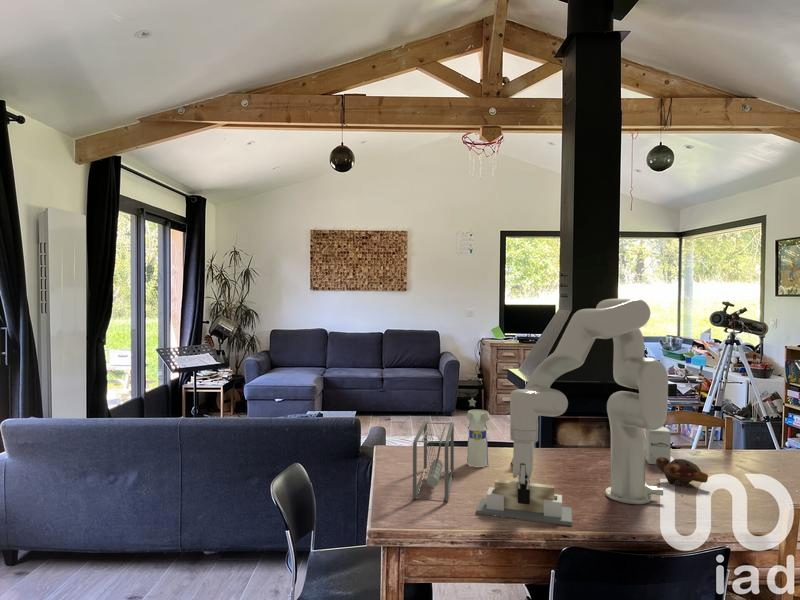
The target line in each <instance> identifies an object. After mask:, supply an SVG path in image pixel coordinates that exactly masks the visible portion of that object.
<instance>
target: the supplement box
mask: <svg viewBox="0 0 800 600" xmlns="http://www.w3.org/2000/svg"><path fill="white" fill-rule="evenodd" d="M659 457H665V458H668V460H669V462H671V461H672V460H671V431H670V430H669V429H668V427H666V426H665V427H664V426H662V427H661V428H659V429H657V430H648V429H645V461H646V462H647V464H649V465H657V464H656V460H657V458H659Z"/></svg>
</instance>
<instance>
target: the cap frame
mask: <svg viewBox="0 0 800 600" xmlns="http://www.w3.org/2000/svg"><path fill="white" fill-rule="evenodd" d="M476 513H477V514H476V515H481V514H486V515H485V516H489V515H496V516H495V517H497V516H503V517H502V518H505V517H510V518H509V519H513V518H516V519H515V520H521V521H522V520H523V521H528V522H529V521H530V522H538V523H547V524H555V525H563V526H570V527H572V526H573V514H572V513H573V512H572V507H567V506H563V495H562V494H556V493H554V500H548V499H544V513H539V512H531V511H523V510H514V509H506V508H504V495H503V494H495V487H491V486H489V488H488V490H487V492H486V497H481V499H480V501H479V504H478V506H477V508H476Z"/></svg>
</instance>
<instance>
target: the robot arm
mask: <svg viewBox="0 0 800 600" xmlns="http://www.w3.org/2000/svg"><path fill="white" fill-rule="evenodd" d="M650 317H651V309H650V306H649V305H648V304H647V302H646V301H644V300H643V299H642V298H641V299H640V298H634V297H633V298H608V299H603V300H601V301H599V302H598V304H596V307H595V308H583V309H578V310H577V311H576V312H575V313H574V314H573V315H572V317H571V318H570V320H569V322H568V324H567V326H566V328H565V331H564V333H563V334H562V337H561V338H560V340H559V342H558V344H557V346H556V348H555V350H554V351H553V353H551V354H549V355H548V356H547V357H546V358H545V359H544V360H543V361H541V363H539V365H538V366H537V367H536V368H535V369H534V370H533V371H532V373H531V375H530V377H529V378H528V380H527V383H526V385H525V387H524V388H523V389H522V388H521V389H520V388H519V389H513V390H512V391H511V392H510V396H509V397H510V398H509V400H510V401H509V402H510V403H509V404H510V406H509V411H510V413H509V415H510V416H509V417H510V418H509V419H510V422H509V423H510V424H509V425H510V426H509V428H510V429H509V432H510V434H509V437H510V440H511V441H512V442H513V448H512V449H513V451H512V453H513V457H512V459H513V465H512V477H513V479H516V478H518V481H517V482H518V503H519V504H528V505H529V504H530V489H529V483H531V479H532V474H533V469H534V453H535V449H534V448H535V447H534V444H535V443H537V442H538V441H539V416H541V417H542V416H543V417H552V418H553V417H558V416H561V415H564V413H566V411H567V409H568V406H569V401H568V399H567V396H566V395H565V394H564V393H563V392H562V391H560V390H558V389H555V388H551V386H552V384H553V383H554V382H555V381H556V380H557V379H558V378H559V377H561V376H562V375H564V374H566V373H568V372H571V371H573V370H575V369H578V368H580V367H581V366H583V364H584V363H585V361H586V358H587V356H588V354H590V353H589V352H590V350H591V348H592V346H593V344H594V343H595V341H596V340H597V339H600V340H601V339H602V340H608V339H612V342H613V362H612V368H613V369H612V374H613V379H614V381H615V383H616V384H617V385H619V386H622V387H625V388H629V389H635V390H638V393H637V392H633V391H627V390H626V391H625V390H620V391H616V392H613V393H612V394H610V396H609V398H608V400H607V402H606V412H607V416H608V421H609V427H610V486H609V487H607V488H605V495H606V497H607V498H609V499H611V500H613V501H616V502H619V503H623V504H629V505H630V504H631V505H643V504H644V505H645V504H649V503H650V502H652V495H656V496H662V497H663V496H664V489H663V488H660V487H659V488H658V487H657V486H653V485H648V484H647V482H646V436H645V433H644V430H646V429H648V430H657V429H659V428H661V427H664V424H665V423H666V421H667V416H668V406H669V404H668V403H669V375H668V372H667V368H666V367H665V365H664V364H663V362H661V361H659V360H658V359H655V358H652V357H646V356H645V339H644V334H642V331H641V329H642V327H644V326H646V324H647V323H648V322H649V320H650V319H651V318H650ZM643 429H644V430H643Z"/></svg>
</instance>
